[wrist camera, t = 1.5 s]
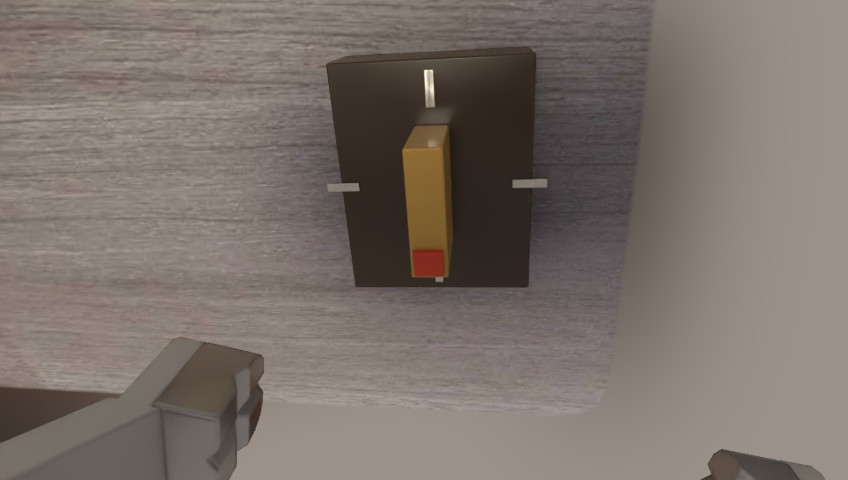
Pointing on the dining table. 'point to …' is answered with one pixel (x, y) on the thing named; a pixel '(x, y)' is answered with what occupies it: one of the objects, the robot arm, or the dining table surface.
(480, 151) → the plate
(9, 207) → the dining table surface
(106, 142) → the dining table surface
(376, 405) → the dining table surface
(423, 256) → the thumbturn
